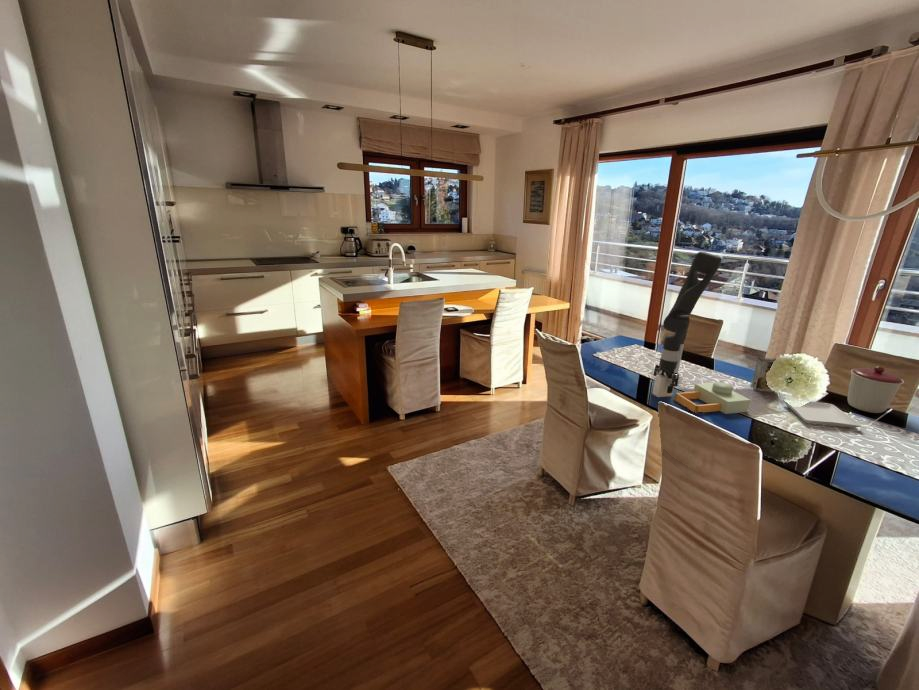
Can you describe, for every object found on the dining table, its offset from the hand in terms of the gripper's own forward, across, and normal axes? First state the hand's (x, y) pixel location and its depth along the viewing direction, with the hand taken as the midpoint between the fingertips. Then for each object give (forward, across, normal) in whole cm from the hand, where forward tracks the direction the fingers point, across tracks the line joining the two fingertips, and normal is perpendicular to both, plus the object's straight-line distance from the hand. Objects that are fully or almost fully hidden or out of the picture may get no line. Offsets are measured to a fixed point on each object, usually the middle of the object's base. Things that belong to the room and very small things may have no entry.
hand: (663, 389), depth 208 cm
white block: (+3, 0, 0) cm, 3 cm away
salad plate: (+4, +33, +55) cm, 64 cm away
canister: (+3, +30, +87) cm, 92 cm away
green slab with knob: (+3, +13, +15) cm, 20 cm away
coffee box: (+3, +3, +57) cm, 57 cm away
